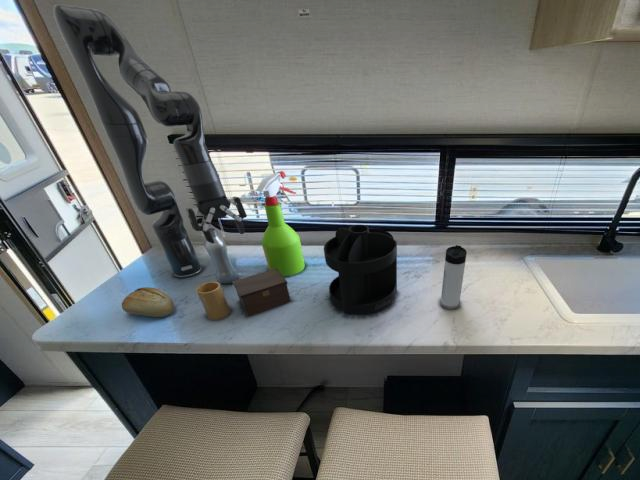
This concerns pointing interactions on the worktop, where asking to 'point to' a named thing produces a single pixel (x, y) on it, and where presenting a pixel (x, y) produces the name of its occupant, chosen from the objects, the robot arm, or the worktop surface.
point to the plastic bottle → (220, 258)
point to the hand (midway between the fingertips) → (227, 238)
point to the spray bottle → (279, 231)
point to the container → (362, 269)
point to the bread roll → (148, 303)
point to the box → (262, 291)
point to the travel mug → (453, 276)
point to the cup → (213, 300)
